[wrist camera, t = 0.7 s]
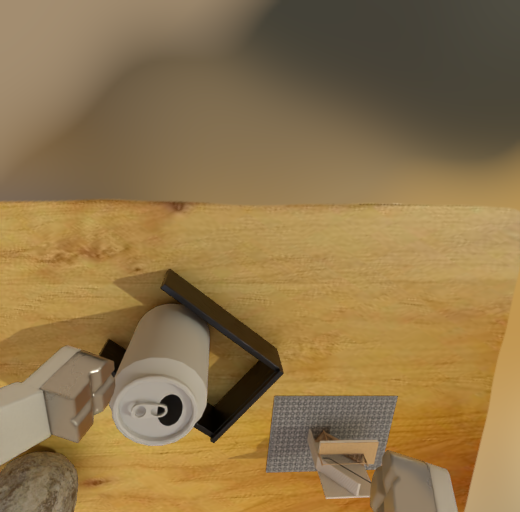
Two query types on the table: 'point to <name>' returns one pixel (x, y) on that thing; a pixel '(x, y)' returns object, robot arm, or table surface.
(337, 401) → the architectural model
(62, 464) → the decorative stone
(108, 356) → the frame
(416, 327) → the table surface
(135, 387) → the can
